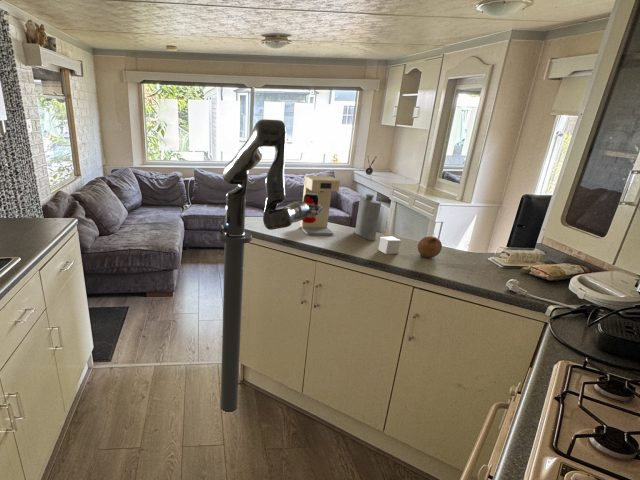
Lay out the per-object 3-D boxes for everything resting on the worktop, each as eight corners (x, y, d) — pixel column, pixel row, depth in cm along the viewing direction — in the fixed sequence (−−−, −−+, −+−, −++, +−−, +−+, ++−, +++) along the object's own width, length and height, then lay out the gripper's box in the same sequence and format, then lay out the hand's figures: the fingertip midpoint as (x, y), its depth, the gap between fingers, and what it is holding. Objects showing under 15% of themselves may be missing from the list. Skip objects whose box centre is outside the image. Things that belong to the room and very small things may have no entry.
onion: (429, 266, 180) (437, 248, 173) (410, 255, 185) (416, 237, 177) (442, 254, 184) (449, 237, 177) (422, 244, 189) (429, 227, 181)
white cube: (378, 250, 189) (380, 236, 187) (390, 249, 190) (392, 236, 188) (385, 254, 184) (388, 240, 181) (398, 253, 185) (400, 240, 183)
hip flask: (376, 240, 203) (383, 197, 195) (368, 240, 202) (375, 198, 194) (359, 231, 217) (365, 191, 209) (352, 231, 216) (358, 191, 208)
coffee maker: (333, 235, 208) (340, 180, 198) (307, 235, 207) (313, 180, 196) (324, 227, 221) (330, 176, 211) (299, 227, 220) (305, 175, 209)
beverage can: (318, 222, 185) (322, 193, 180) (310, 224, 181) (313, 195, 176) (306, 219, 189) (309, 191, 184) (298, 221, 185) (300, 193, 180)
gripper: (313, 205, 166) (329, 199, 179) (280, 200, 173) (297, 194, 186) (311, 224, 169) (327, 217, 182) (279, 218, 176) (296, 212, 189)
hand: (312, 205), depth 184 cm, fingers closed on beverage can, 6 cm apart
